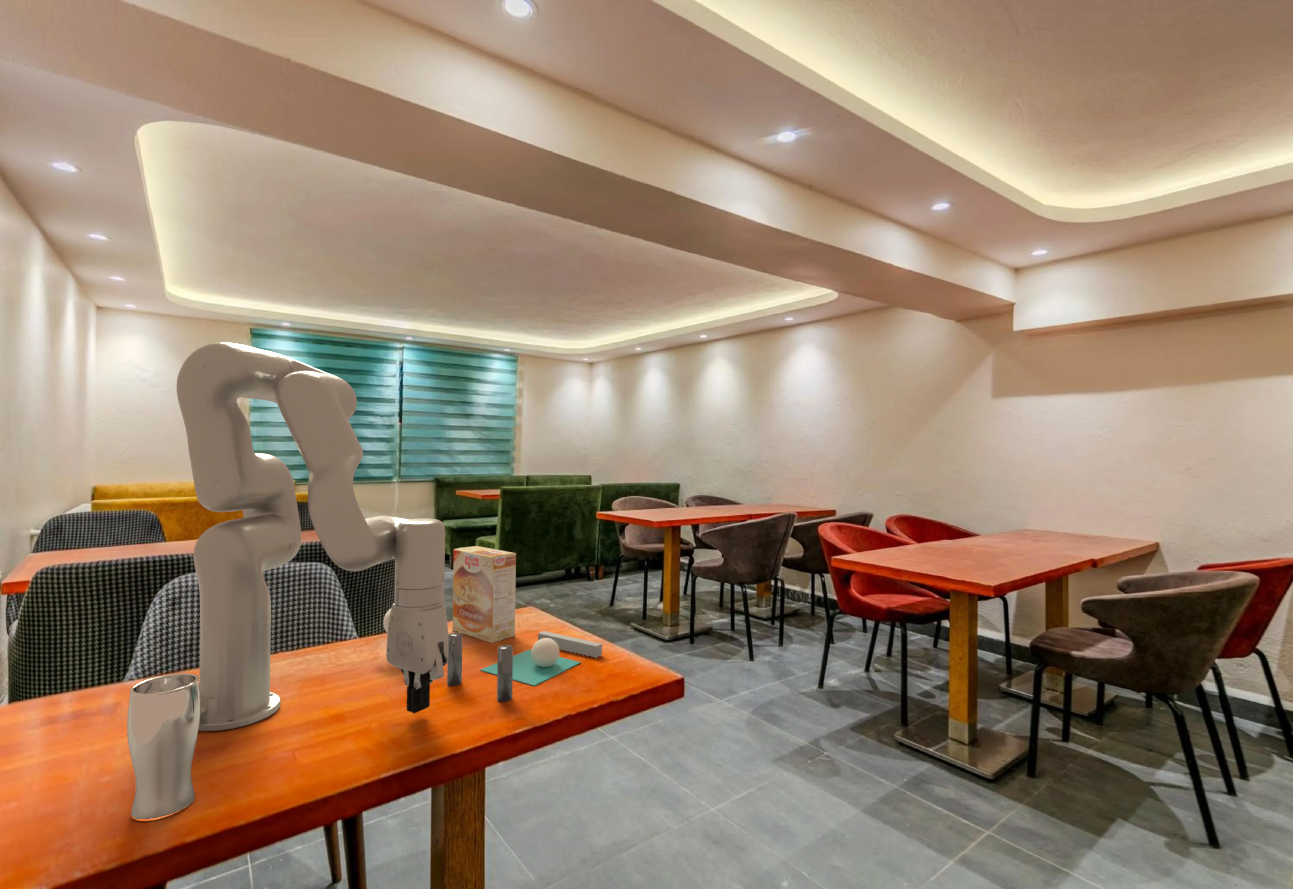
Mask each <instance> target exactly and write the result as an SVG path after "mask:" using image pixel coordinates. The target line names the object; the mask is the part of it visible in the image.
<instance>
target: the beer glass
mask: <svg viewBox="0 0 1293 889" xmlns="http://www.w3.org/2000/svg"><path fill="white" fill-rule="evenodd" d="M199 683H200V676H199V675H198V674H194V673H186V672H182V673H181V672H180V673H171V674H170V673H169V674H165V675H159V676H156V677H152V678H149V679H146V680H143V681H140V682H138V683H136V684H134V685H133V686H131V688H130V689H129V698H128V709H127V718H126V719H127V721H126V731H127V732H126V733H127V734H126V736H127V743H128V745H127V746H128V751H129V755H130V758H131V759H130V760H131V763H132V768H133V772H134V777H135V792H134V798H133V803H132V807H131V811H130V816H131V815H132V816H133V817H134V818H136V819H150V818H157V817H161V816H165V815H169V814H172V813H175V812H177V811H179V810H182V809H184V808H185V807H187V806H188V807H190V806H191V805H192V804H193V803H192V802H195V800H196V794H195V788H194V784H193V779H192V763H193V760H194V753H195V750H196V744H197V740H198V736H199V724H200V712H201V707H200V690H199ZM191 803H192V804H191ZM190 804H191V805H190ZM189 805H190V806H189ZM188 807H187V808H188ZM184 810H185V809H184Z"/></svg>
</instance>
